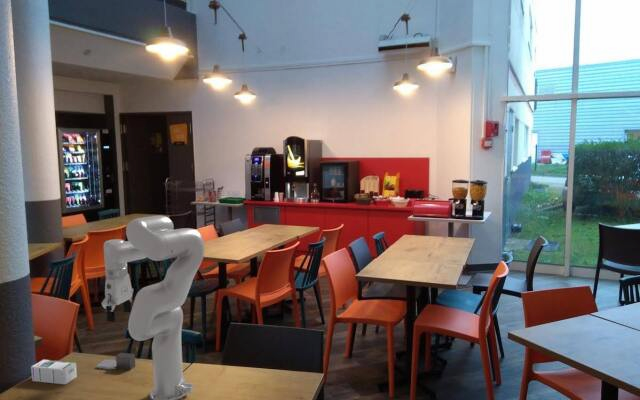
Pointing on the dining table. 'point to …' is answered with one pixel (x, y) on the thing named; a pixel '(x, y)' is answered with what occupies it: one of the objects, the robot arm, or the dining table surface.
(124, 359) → the two-tone stacked blocks
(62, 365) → the syrup box
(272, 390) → the dining table surface
